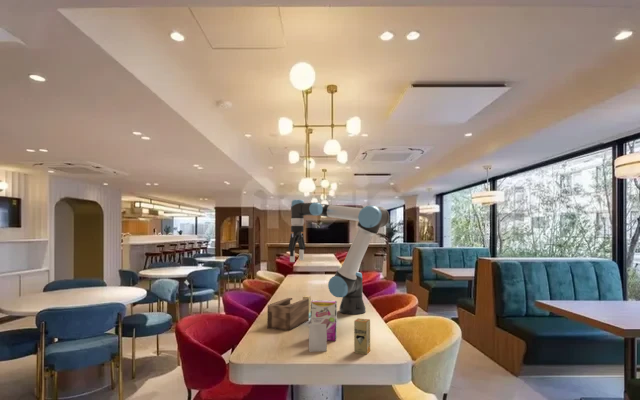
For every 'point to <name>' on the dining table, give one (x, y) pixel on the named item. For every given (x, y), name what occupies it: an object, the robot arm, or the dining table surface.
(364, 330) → the shoe polish box
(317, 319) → the candy bar box
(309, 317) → the cover plate
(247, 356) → the dining table surface
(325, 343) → the white rectangular block
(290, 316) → the walnut box
